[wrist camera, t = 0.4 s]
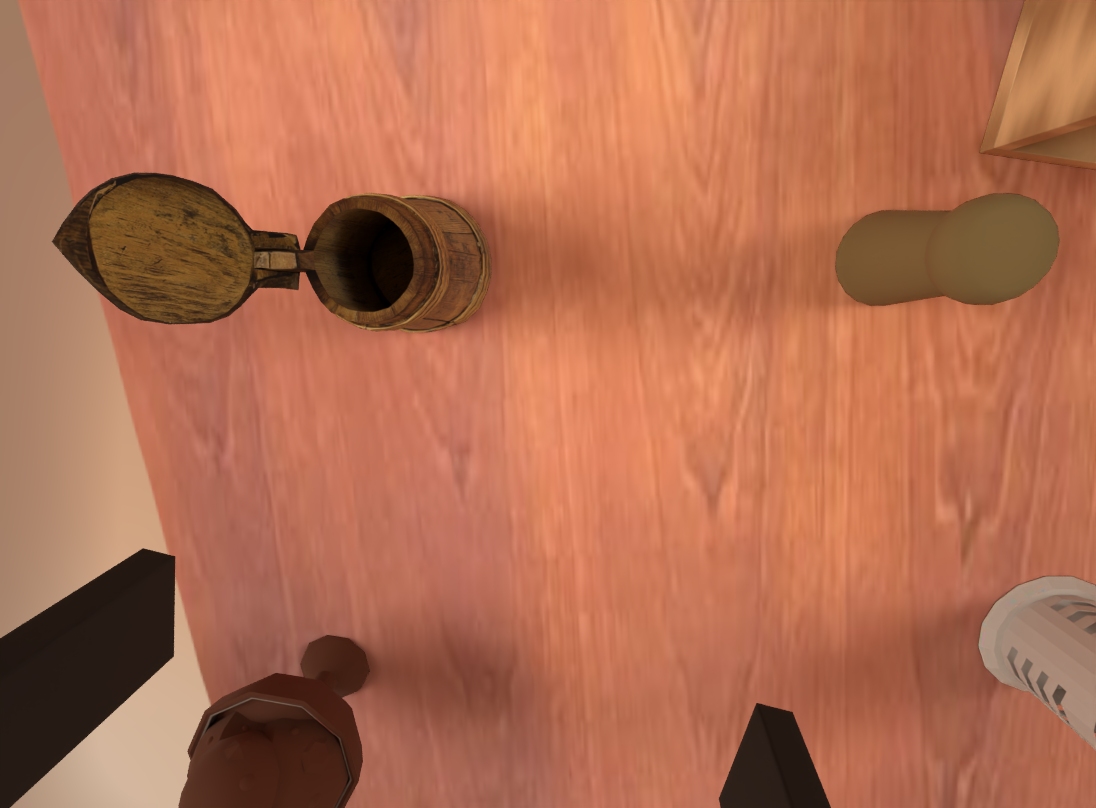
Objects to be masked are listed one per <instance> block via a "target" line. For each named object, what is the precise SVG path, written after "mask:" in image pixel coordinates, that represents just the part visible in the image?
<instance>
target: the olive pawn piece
mask: <svg viewBox="0 0 1096 808" xmlns="http://www.w3.org/2000/svg"><path fill="white" fill-rule="evenodd" d="M1058 246H1059V233H1058V226H1057V224H1056V222H1055V220H1054V219H1053V217H1052V215H1051V213H1050V212H1049V211H1048V210H1047V209H1045V208H1044V207H1043V206H1042V205H1041V204H1039V203H1038V202H1037V201H1036V200H1034V199H1031V198H1028V197H1025V196H1022V195H1019V194H1012V193H1006V194H990V195H985V196H982V197H979V198H976V199H973V200H970V201H967V202H965V203H963V204H962V205H960V206H958V207H957V208H956V209H954V210H953V211H899V210H895V211H879V212H876V213H873V214H870V215H867V216H865V217H864V218H862V219H861V220H859V221H858V222H857V223H855V224H854V225H853V226H852V227H851V228H850V229H849V231H848V232H847V233H846V234H845V236H844V237H843V239H842V241H841V243H840V246H839V248H838V250H837V256H836V266H835V267H836V272H837V276H838V281H839V282H840V284H841V286H842V287H843V289H844V290H845V292H846V293H847V294H848V295H850V296H851V297H852V298H853V299H855V300H856V301H858V302H861V303H864V304H867V305H891V304H897V303H903V302H909V301H915V300H921V299H928V298H934V297H940V296H947V297H949V298H951V299H953V300H956V301H959V302H962V303H965V304H974V305H993V304H996V303H1000V302H1003V301H1007V300H1010V299H1013V298H1017V297H1019V296H1020V295H1022V294H1023V293H1025V292H1027V291H1028V290H1030V289H1031V288H1033V287H1034V286H1035V285H1036V284H1037V283H1038V282H1039V281H1040V280H1041V279H1042V278H1043V277H1044V276H1045V275H1046V274H1047V273H1048V271H1049V270H1050V268H1051V266H1052V264H1053V262H1054V260H1055V258H1056V256H1057V251H1058Z"/></svg>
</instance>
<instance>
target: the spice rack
mask: <svg viewBox="0 0 1096 808" xmlns="http://www.w3.org/2000/svg"><path fill="white" fill-rule="evenodd" d="M980 153H984V154H991V155H998V156H1005V157H1011V158H1018V159H1025V160H1032V161H1039V162H1046V163H1053V164H1060V165H1067V166H1074V167H1080V168H1087V169H1094V170H1096V0H1025V2H1024V5H1023V8H1022V12H1021V15H1020V18H1019V22H1018V25H1017V28H1016V32H1015V35H1014V38H1013V42H1012V45H1011V48H1010V52H1009V55H1008V58H1007V62H1006V65H1005V68H1004V72H1003V75H1002V79H1001V82H1000V85H999V89H998V92H997V95H996V99H995V102H994V105H993V109H992V112H991V115H990V119H989V122H988V125H987V129H986V132H985V135H984V139H983V142H982V146H981V149H980Z"/></svg>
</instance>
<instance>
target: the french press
mask: <svg viewBox="0 0 1096 808" xmlns="http://www.w3.org/2000/svg"><path fill="white" fill-rule="evenodd" d="M978 647H979V650H980V653H981V656H982V659H983V662H984V665H985V667H986V668H987V669H988V670H989V671H990V672H991V673H992V674H993V675H994V676H995V677H996V678H997V679H998V680H999V681H1000V682H1001V683H1004V684H1006V685H1009V686H1012V687H1014V688H1017V689H1020V690H1022V691H1030V692H1031V693H1032V694H1033V695H1034V696H1035V697H1037V698H1038V699H1039V700H1041V699H1042V700H1041V701H1042V702H1043V703H1044V704H1045V705H1046V706H1047V707H1048V708H1049V709H1050V710H1052V711H1053V712H1054V713H1055V714H1056V715H1057V716H1058V717H1059V718H1060V719H1061V720H1062V721H1064V722H1065V723H1066V724H1067V725H1069V726H1070V727H1071V728H1072V729H1073V730H1074V731H1075V732H1076V733H1077V734H1078V735H1079V736H1080V737H1081V738H1082V739H1084V740H1085V741H1087V742H1088V743H1089V744H1090V745H1091V746H1092V747H1093V748H1094V749H1095V750H1096V738H1095V735H1094V733H1096V585H1093V584H1091V583H1088V582H1085V581H1083V580H1080V579H1078V578H1075V577H1073V576H1045V577H1042V578H1039V579H1036V580H1033V581H1030V582H1027V583H1024V584H1021V585H1018V586H1017V587H1015V588H1014V589H1013V590H1011V591H1010V592H1009V593H1007V594H1006V595H1005V596H1003V597H1002V598H1001V599H999V600H998V601H997V602H996V603H995V604H994V606H993V607H992V609H991V610H990V612H989V613H988V615H987V617H986V618H985V620H984V621H983V623H982V627H981V633H980V639H979V645H978ZM1045 701H1046V702H1048V703H1050V705H1051V706H1052V707H1051V706H1049V705H1048V704H1047V703H1046V702H1045ZM1057 705H1062V708H1063V710H1064V711H1059V710H1058V707H1057ZM1061 715H1062V716H1064V717H1066V718H1067V719H1068V721H1067V720H1065V719H1064V718H1063V717H1062V716H1061Z"/></svg>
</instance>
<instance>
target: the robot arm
mask: <svg viewBox="0 0 1096 808" xmlns="http://www.w3.org/2000/svg"><path fill="white" fill-rule="evenodd" d="M174 600H175V556H171V555H167V554H163V553H159V552H155V551H151V550H147V549H141V550H140V551H138V552H137V553H135V554H133V555H132V556H130V557H129V558H127V559H125V560H124V561H122V562H121V563H119V564H118V565H116V566H114V567H113V568H111V569H110V570H108V571H106V572H105V573H103V574H102V575H100V576H99V577H97V578H95V579H94V580H92V581H91V582H89V583H88V584H86V585H84V586H83V587H81V588H80V589H78V590H77V591H75V592H73V593H72V594H70V595H68V596H67V597H65V598H64V599H62V600H60V601H59V602H57V603H56V604H54V605H52V606H51V607H49V608H48V609H46V610H45V611H43V612H41V613H40V614H38V615H37V616H35V617H34V618H32V619H30V620H29V621H27V622H26V623H24V624H22V625H21V626H19V627H18V628H16V629H14V630H13V631H11V632H10V633H8V634H7V635H5V636H3V637H2V638H0V808H10V807H11V806H12V805H13V804H14V803H15V802H16V801H17V800H19V798H21V797H22V796H23V795H24V794H25V793H26V792H27V791H28V790H29V789H31V787H33V786H34V785H35V784H36V783H37V782H38V781H39V780H40V779H41V778H42V777H44V776H45V775H46V774H47V773H48V772H49V771H50V770H51V769H52V768H53V767H54V766H55V765H57V764H58V763H59V762H60V761H61V760H62V759H63V758H64V757H65V756H66V755H67V754H68V753H69V752H70V751H72V750H73V749H74V748H75V747H76V746H77V745H78V744H79V743H80V742H81V741H83V740H84V739H85V738H86V737H87V736H88V735H89V734H90V733H91V732H92V731H93V730H94V729H95V728H96V727H98V726H99V725H100V724H101V723H102V722H103V721H104V720H105V719H106V718H107V717H108V716H110V714H112V713H113V712H114V711H115V710H116V709H117V708H118V707H119V706H120V705H121V704H123V703H124V702H125V701H126V700H127V699H128V698H129V697H130V696H131V695H132V694H133V693H134V692H135V691H136V690H137V689H139V688H140V687H141V686H142V685H143V684H144V683H145V682H146V681H147V680H149V679H150V678H151V677H152V676H153V675H154V674H155V673H156V672H157V671H158V670H159V669H160V668H162V667H163V666H164V665H165V664H166V663H167V662H168V661H169V660H170V659H171V658H172V657H173V656H174V605H175V602H174ZM719 801H720V806H721V808H831V807H830V804H829V802H828V799H827V797H826V794H825V792H824V789H823V787H822V784H821V782H820V779H819V777H818V774H817V772H816V769H815V767H814V764H813V762H812V759H811V757H810V754H809V752H808V749H807V747H806V745H805V742H804V740H803V737H802V735H801V732H800V730H799V727H798V725H797V722H796V720H795V717H794V715H793V712H790V711H786V710H782V709H778V708H774V707H770V706H766V705H762V704H758V703H756V706H755V708H754V711H753V714H752V716H751V719H750V721H749V724H748V726H747V729H746V731H745V734H744V736H743V739H742V741H741V744H740V747H739V749H738V752H737V754H736V757H735V759H734V762H733V764H732V767H731V769H730V772H729V774H728V777H727V780H726V782H725V785H724V787H723V790H722V792H721V795H720V797H719Z"/></svg>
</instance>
